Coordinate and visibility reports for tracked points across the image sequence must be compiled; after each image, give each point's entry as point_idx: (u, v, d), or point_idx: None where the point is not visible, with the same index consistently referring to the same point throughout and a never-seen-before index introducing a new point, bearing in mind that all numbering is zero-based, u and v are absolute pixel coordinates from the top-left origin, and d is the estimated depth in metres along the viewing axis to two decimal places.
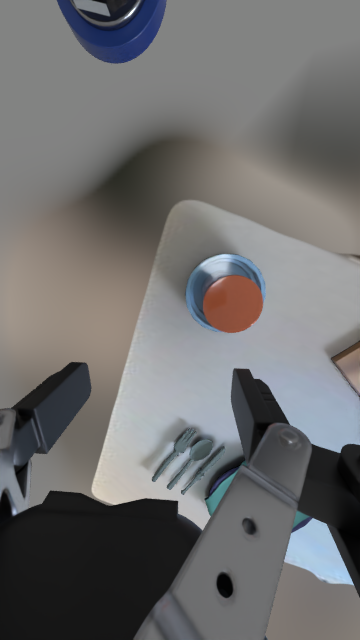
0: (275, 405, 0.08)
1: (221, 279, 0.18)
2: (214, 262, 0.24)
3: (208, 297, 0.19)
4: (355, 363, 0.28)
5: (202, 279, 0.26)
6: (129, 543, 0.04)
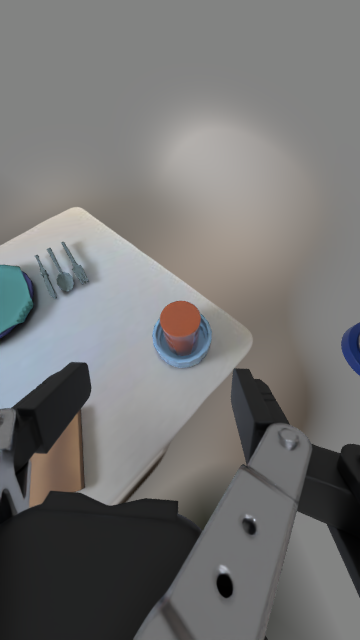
0: (275, 405, 0.08)
1: (199, 317, 0.27)
2: (206, 339, 0.33)
3: (191, 306, 0.28)
4: None
5: None
6: (129, 543, 0.04)
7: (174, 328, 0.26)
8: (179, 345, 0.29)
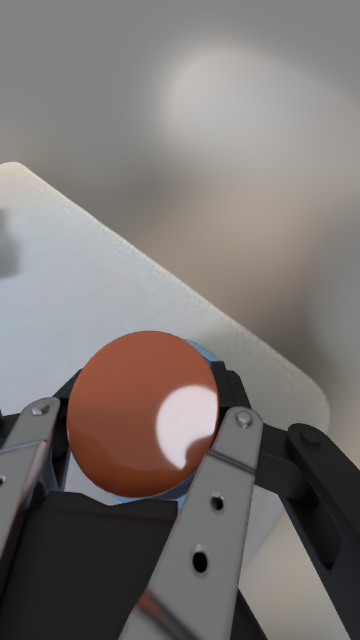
0: (242, 393, 0.09)
1: (216, 397, 0.07)
2: None
3: (186, 353, 0.08)
4: None
5: None
6: (129, 543, 0.04)
7: (115, 450, 0.07)
8: None
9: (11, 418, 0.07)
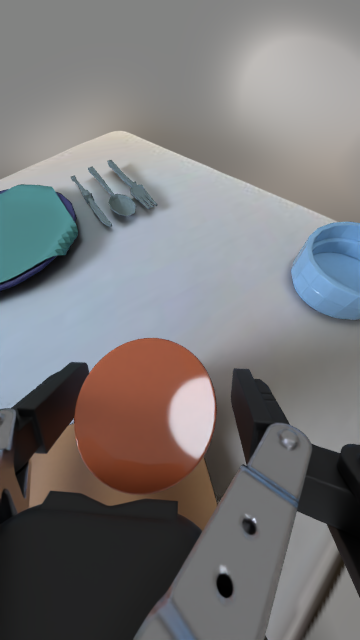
0: (275, 405, 0.08)
1: (213, 401, 0.08)
2: None
3: (186, 359, 0.08)
4: None
5: (357, 266, 0.21)
6: (129, 543, 0.04)
7: (120, 450, 0.07)
8: None
9: None
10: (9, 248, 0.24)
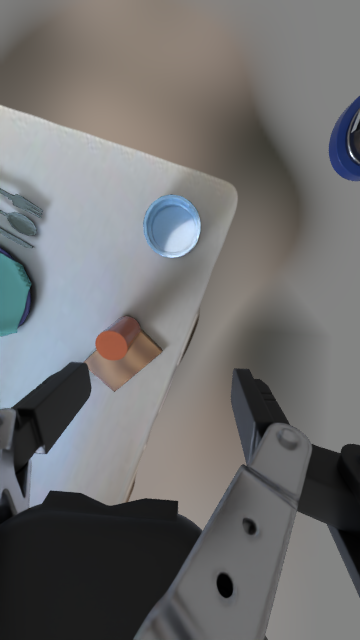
0: (275, 405, 0.08)
1: (124, 339, 0.33)
2: (194, 219, 0.33)
3: (113, 333, 0.33)
4: None
5: (181, 213, 0.35)
6: (129, 543, 0.04)
7: (112, 355, 0.34)
8: None
9: None
10: (0, 293, 0.41)
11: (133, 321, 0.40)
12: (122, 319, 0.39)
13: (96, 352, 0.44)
